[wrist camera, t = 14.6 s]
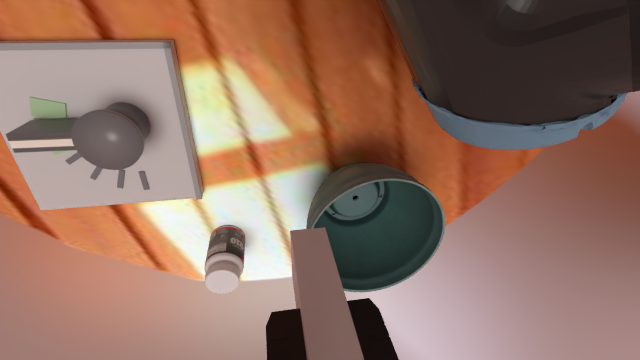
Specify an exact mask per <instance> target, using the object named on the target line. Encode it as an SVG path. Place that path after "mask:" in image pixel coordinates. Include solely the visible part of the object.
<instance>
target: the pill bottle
mask: <svg viewBox="0 0 640 360" xmlns="http://www.w3.org/2000/svg"><path fill="white" fill-rule="evenodd" d="M244 248H245V236H244V234H243V232H242V231H241V230H240V229H239V228H237V227H234V226H222V227H219V228H217V229H216V230H214V232H213V233H212V235H211V237H210V243H209V248H208V252H207V258H206V262H205V273H206V275H205V286H206V287H207V289H208V290H210V291H212V292H214V293H218V294H224V293H228V292H231V291H233V290H234V289H236V288H237V286H238V284H239V278H240V275H241V274H242V271H243V267H244Z"/></svg>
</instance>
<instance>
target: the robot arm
mask: <svg viewBox="0 0 640 360" xmlns="http://www.w3.org/2000/svg"><path fill="white" fill-rule="evenodd" d="M377 1H378V3H379V5H380V8H381V10H382V12H383V14H384V16H385V18H386V21H387V23H388V25H389V27H390V29H391V31H392V34H393V36H394V38H395V40H396V42H397V45H398V47H399V49H400V51H401V53H402V55H403V58H404V60H405V62H406V64H407V66H408V68H409V71H410V73H411V75H412V77H413V85H414V87H415V90H416V91H417V93H418V95H419V96H420V97H421V98H422V100H423V101H425V102H426V104H427V106H428V108H429V110H430V112H431V113H432V115H433V117H434V119H435V121H436V122H437V123H438V125H439V126H440V127H441V128H442V129H443V130H445V131H446V132H447V133H449V134H450V135H451V136H452V137H454V138H456V139H458V140H460V141H462V142H464V143H467V144H470V145H473V146H477V147H482V148H488V149H497V150H524V149H534V148H541V147H546V146H551V145H555V144H558V143H562V142H565V141H568V140H571V139H573V138H576V137H577V135H578V133H579V130H580V129H587V130H592V129H594V128H596V127H598V126H599V125H601V124H603V123H604V122H605V121H606V120H608V119H609V118H610V117H611V116H612V115H613V114H614V113H615V112H616V111H617V109H618V108H619V106H620V104H621V103H622V102H623V101H624V99H625V97H626V95H627V94H628V92H635V91H640V0H377ZM290 233H291V255H292V277H293V285H294V293H295V301H296V308H297V309H292V310H284V311H277V312H272V313H271V315H270V318H269V320H268V323H267V325H266V340H267V360H399V359H398V357H397V354H396V352H395V349H394V347H393V344H392V341H391V339H390V337H389V334H388V331H387V329H386V326H385V325H384V321H383V318H382V316H381V313H380V311H379V309H378V308H377V307H376V305H375V304H374V303H373V302H372V301H371V300H370V299H369V298H366V299H359V300H351V301H347V300H346V297H345V293H344V290H343V286H342V283H341V280H340V276H339V273H338V270H337V266H336V263H335V259H334V256H333V253H332V249H331V246H330V242H329V239H328V236H327V232H326V229H325V227H323V228H313V229H303V230H293V231H290Z"/></svg>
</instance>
